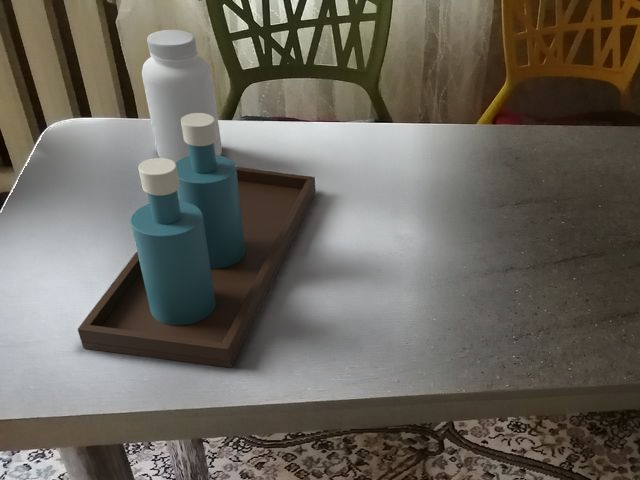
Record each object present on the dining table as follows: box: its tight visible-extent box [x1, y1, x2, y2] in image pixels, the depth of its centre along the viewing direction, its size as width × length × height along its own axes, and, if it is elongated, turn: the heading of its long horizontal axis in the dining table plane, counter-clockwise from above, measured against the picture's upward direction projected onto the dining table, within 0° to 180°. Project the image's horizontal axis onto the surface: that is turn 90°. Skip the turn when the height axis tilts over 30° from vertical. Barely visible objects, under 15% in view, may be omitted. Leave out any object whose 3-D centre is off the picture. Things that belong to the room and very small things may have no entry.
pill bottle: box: [141, 29, 223, 163], centre depth 92 cm, size 8×8×15 cm
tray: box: [77, 166, 316, 369], centre depth 79 cm, size 33×14×2 cm, turn 175°
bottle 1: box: [130, 157, 216, 325], centre depth 68 cm, size 6×6×15 cm
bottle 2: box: [175, 113, 245, 269], centre depth 75 cm, size 6×6×15 cm
